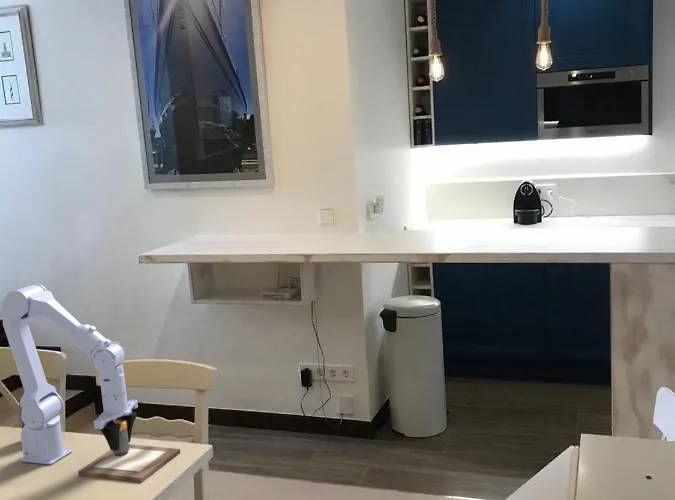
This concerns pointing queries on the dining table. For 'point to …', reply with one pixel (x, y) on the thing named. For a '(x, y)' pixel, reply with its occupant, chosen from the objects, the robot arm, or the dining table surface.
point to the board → (130, 463)
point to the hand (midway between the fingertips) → (120, 445)
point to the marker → (122, 438)
